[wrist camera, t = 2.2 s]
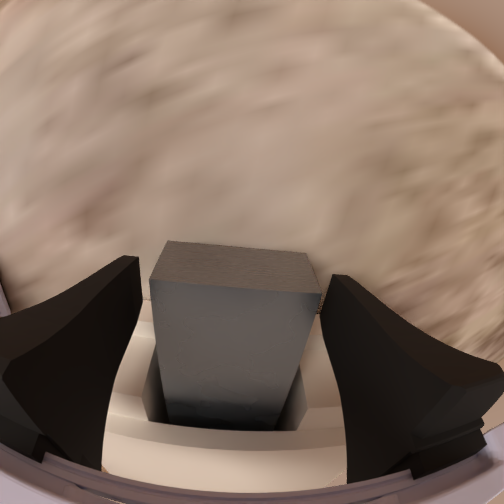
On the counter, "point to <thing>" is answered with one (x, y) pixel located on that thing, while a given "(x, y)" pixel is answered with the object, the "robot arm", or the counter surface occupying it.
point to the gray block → (230, 332)
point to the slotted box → (224, 441)
